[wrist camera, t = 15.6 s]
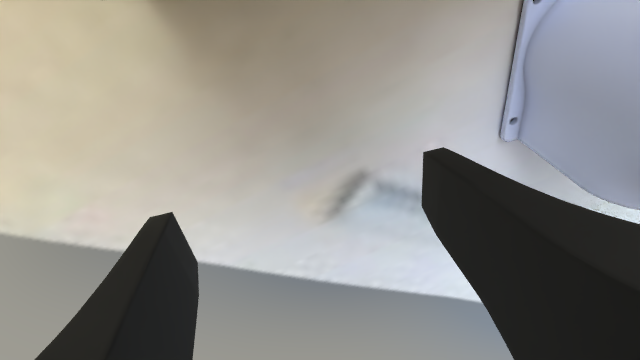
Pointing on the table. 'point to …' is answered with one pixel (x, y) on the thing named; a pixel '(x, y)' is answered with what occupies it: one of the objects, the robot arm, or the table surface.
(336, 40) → the table surface
